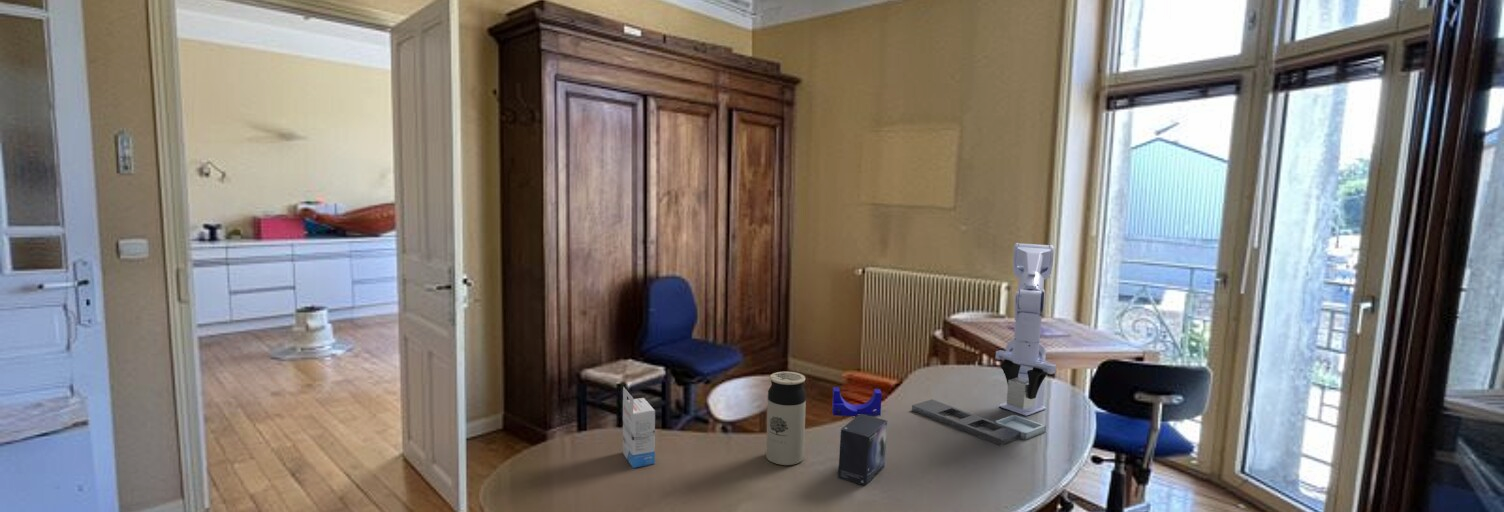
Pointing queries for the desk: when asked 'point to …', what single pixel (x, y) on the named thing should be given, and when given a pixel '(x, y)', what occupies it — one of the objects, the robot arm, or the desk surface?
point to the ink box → (638, 431)
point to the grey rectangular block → (1019, 393)
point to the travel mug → (786, 418)
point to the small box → (862, 449)
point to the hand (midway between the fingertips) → (1022, 395)
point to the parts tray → (1022, 426)
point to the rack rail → (967, 422)
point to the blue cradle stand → (846, 409)
